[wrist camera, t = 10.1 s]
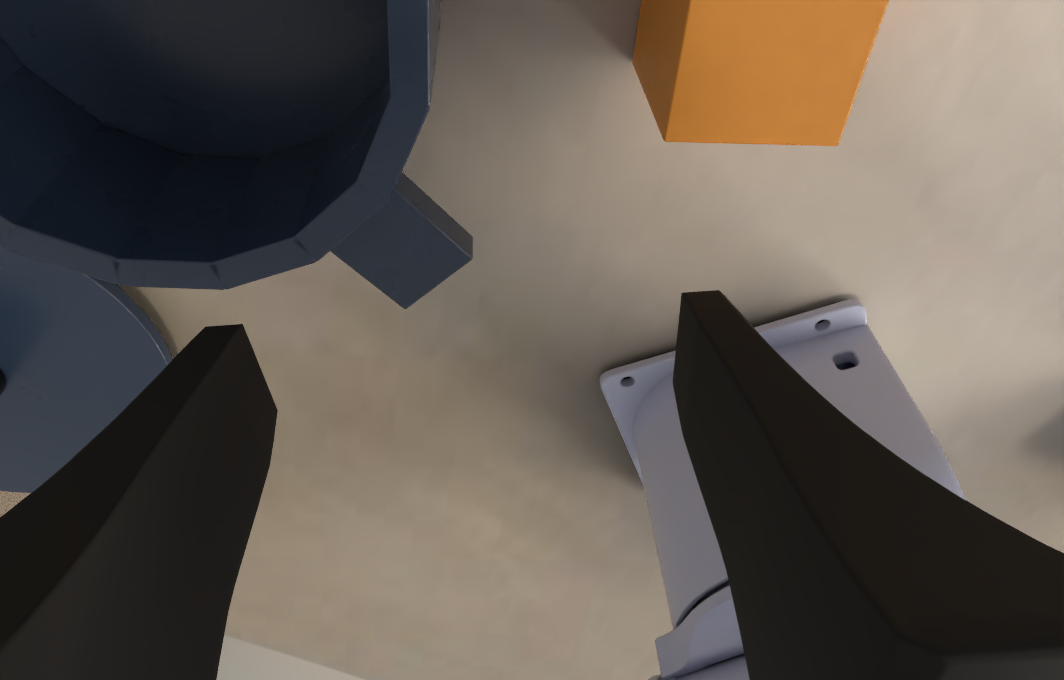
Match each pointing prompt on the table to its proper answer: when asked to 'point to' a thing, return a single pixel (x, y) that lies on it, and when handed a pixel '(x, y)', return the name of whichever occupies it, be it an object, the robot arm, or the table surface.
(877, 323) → the table surface
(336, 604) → the table surface
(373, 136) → the pot
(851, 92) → the orange block
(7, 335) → the lid
